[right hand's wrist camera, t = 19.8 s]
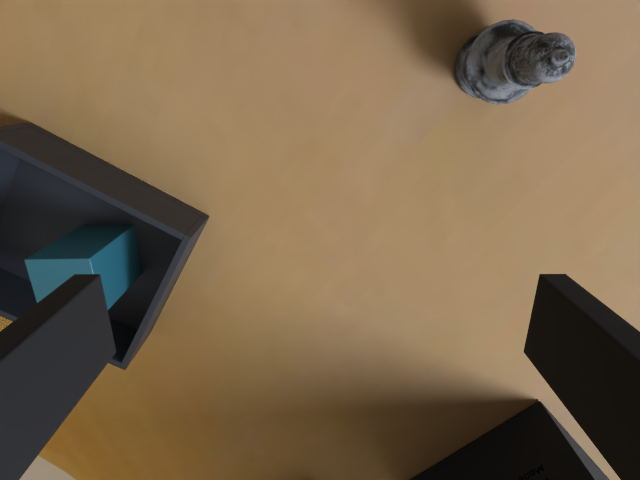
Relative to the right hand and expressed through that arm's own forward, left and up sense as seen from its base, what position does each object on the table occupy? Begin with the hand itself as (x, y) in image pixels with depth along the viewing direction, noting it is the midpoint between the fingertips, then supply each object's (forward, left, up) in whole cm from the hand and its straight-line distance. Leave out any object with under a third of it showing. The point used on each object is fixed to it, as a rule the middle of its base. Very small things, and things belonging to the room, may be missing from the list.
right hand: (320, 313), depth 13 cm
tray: (+4, -28, -27) cm, 39 cm away
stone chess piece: (-8, +14, -27) cm, 31 cm away
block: (+8, -20, -26) cm, 33 cm away
